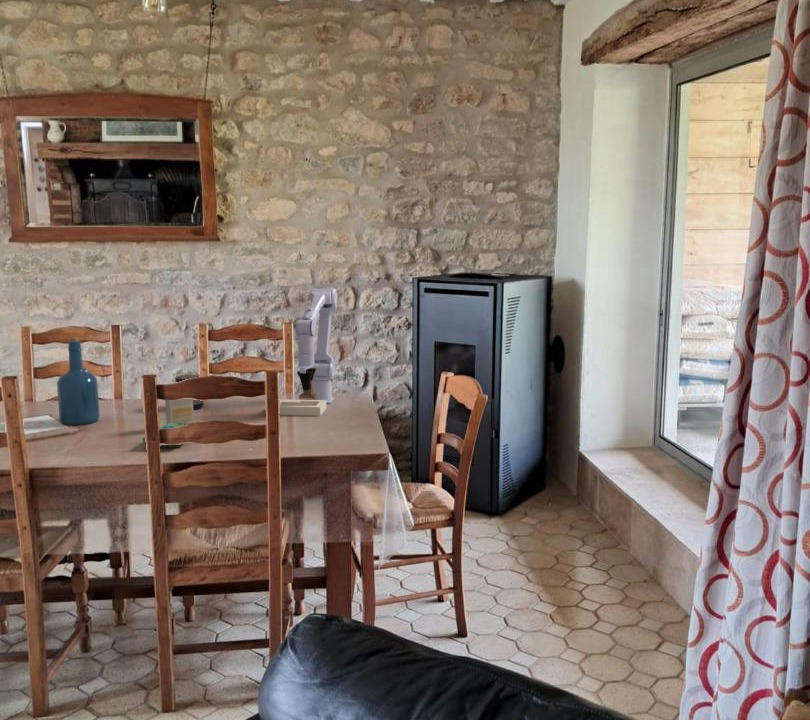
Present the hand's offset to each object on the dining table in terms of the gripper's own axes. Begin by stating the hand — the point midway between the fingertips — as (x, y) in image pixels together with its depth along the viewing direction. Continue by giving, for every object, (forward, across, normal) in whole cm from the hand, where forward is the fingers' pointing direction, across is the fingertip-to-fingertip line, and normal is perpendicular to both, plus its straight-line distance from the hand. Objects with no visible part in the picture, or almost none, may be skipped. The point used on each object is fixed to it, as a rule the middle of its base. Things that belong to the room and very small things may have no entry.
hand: (307, 389), depth 299 cm
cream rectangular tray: (+8, 0, +4) cm, 9 cm away
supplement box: (+9, -27, +38) cm, 48 cm away
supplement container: (+9, +4, +46) cm, 47 cm away
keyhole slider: (+3, 0, 0) cm, 3 cm away
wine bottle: (+9, -20, +77) cm, 80 cm away
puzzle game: (+9, -44, +34) cm, 56 cm away
